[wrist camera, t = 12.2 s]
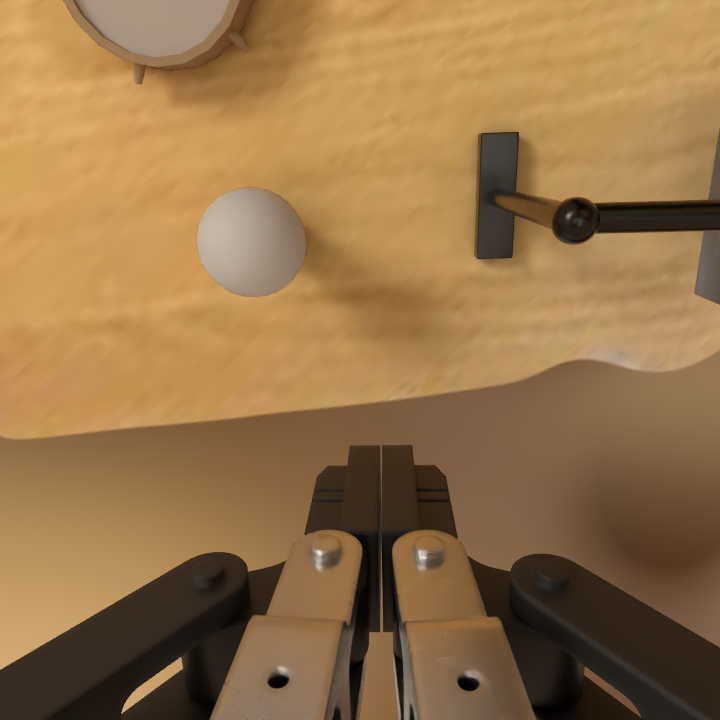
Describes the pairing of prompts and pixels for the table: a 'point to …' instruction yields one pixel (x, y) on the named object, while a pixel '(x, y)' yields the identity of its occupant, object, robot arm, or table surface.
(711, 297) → the hanging grey panel
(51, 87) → the table surface
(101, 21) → the alarm clock
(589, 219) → the valet rail
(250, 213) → the lightbulb
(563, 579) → the robot arm
